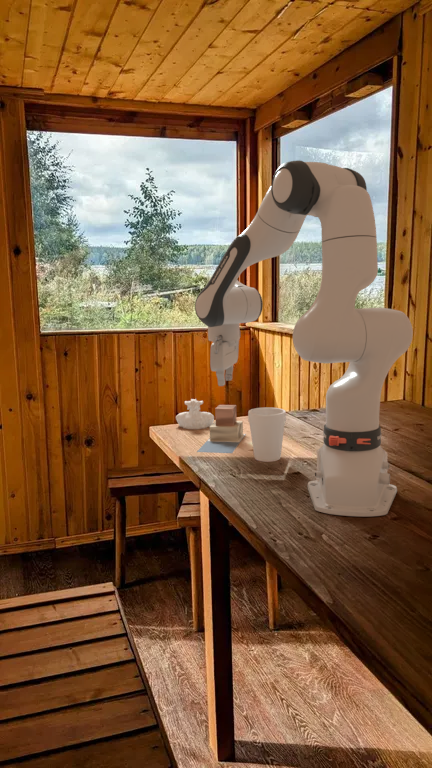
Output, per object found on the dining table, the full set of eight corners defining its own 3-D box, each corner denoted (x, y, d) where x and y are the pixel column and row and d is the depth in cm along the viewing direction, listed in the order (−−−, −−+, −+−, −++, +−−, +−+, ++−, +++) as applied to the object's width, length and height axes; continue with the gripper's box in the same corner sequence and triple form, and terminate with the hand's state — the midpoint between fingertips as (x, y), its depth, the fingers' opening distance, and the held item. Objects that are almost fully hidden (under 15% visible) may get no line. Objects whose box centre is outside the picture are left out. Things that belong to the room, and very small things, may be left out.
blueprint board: (232, 457, 157) (232, 453, 157) (196, 455, 159) (196, 451, 159) (246, 437, 176) (246, 433, 176) (214, 436, 178) (214, 432, 178)
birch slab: (237, 441, 168) (237, 427, 167) (209, 440, 170) (209, 426, 169) (242, 434, 176) (242, 421, 175) (216, 433, 177) (216, 420, 177)
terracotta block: (233, 426, 169) (232, 408, 168) (215, 425, 170) (215, 408, 169) (236, 422, 174) (236, 405, 173) (219, 421, 175) (219, 404, 174)
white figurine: (176, 437, 187) (171, 414, 179) (178, 418, 192) (174, 395, 184) (214, 437, 186) (211, 414, 178) (215, 418, 191) (213, 394, 183)
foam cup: (259, 454, 159) (258, 406, 156) (292, 458, 154) (291, 409, 152) (242, 464, 151) (241, 413, 148) (276, 469, 146) (275, 416, 144)
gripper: (227, 337, 157) (228, 389, 159) (241, 331, 177) (242, 377, 179) (203, 337, 158) (205, 389, 160) (220, 331, 178) (222, 377, 180)
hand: (225, 382), depth 170 cm, fingers open, 8 cm apart
